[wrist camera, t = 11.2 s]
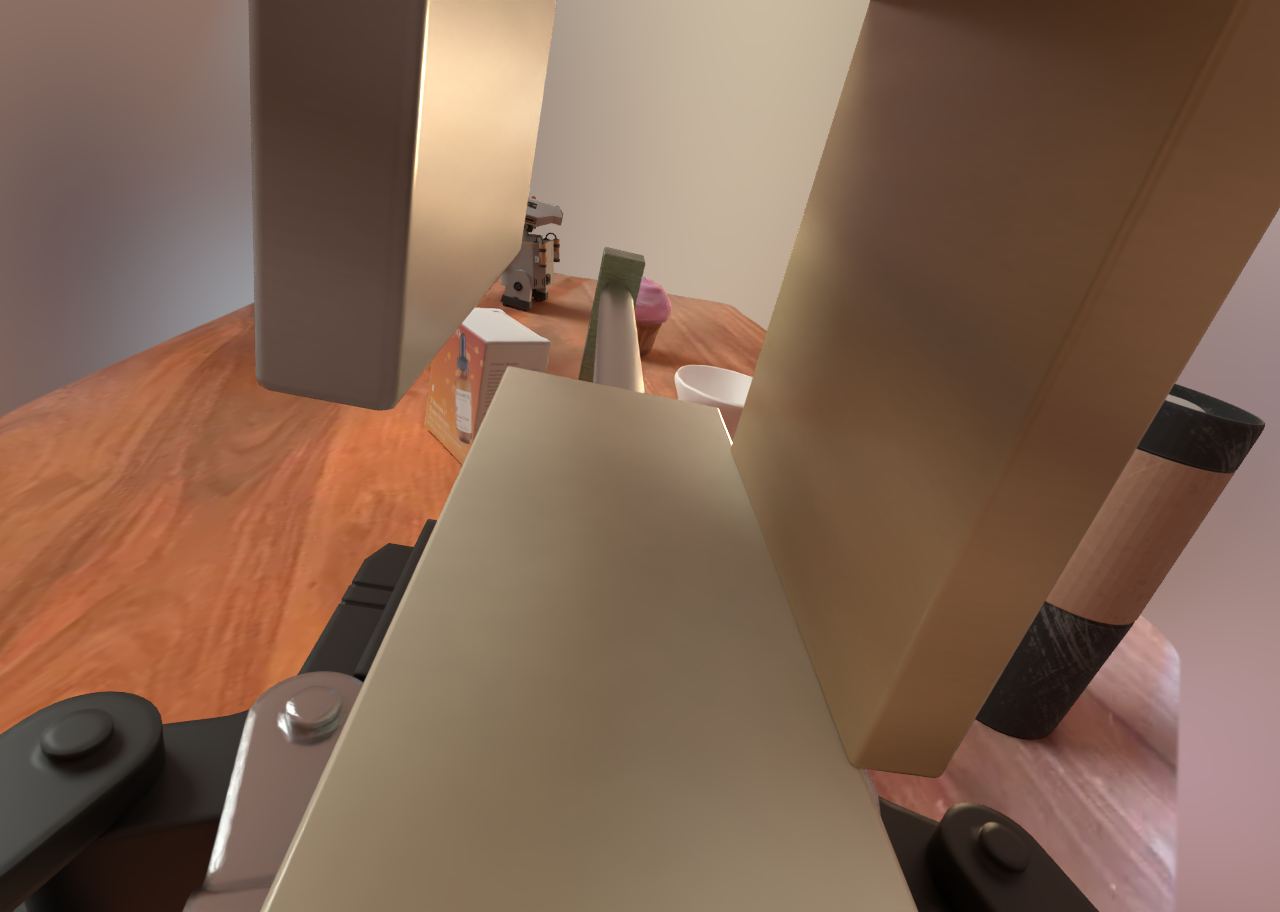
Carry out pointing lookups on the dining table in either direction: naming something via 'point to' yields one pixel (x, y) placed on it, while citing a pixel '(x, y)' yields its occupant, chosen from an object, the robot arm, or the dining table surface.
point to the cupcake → (650, 313)
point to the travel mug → (1122, 558)
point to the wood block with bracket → (740, 438)
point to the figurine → (532, 258)
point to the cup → (714, 391)
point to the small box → (477, 374)
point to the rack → (615, 324)
